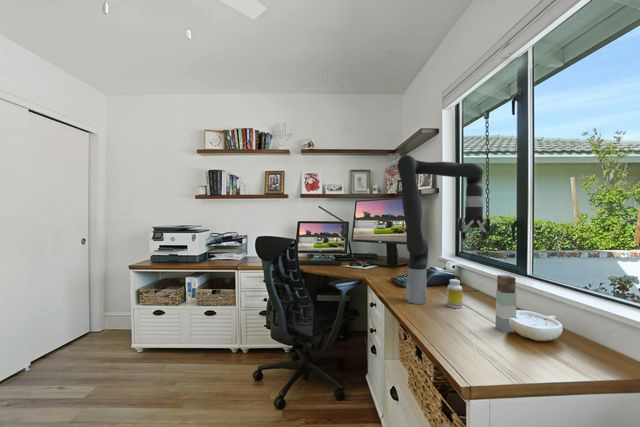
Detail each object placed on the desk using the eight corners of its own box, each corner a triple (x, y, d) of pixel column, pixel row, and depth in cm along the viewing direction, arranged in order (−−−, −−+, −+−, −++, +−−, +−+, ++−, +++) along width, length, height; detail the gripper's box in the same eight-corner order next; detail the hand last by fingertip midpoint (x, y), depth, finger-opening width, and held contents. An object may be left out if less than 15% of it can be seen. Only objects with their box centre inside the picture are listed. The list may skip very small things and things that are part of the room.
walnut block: (502, 292, 113) (503, 277, 113) (497, 289, 117) (497, 274, 117) (515, 293, 112) (515, 277, 112) (508, 290, 117) (509, 275, 117)
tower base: (502, 331, 112) (502, 318, 112) (495, 326, 117) (495, 314, 117) (515, 332, 112) (515, 319, 112) (508, 327, 117) (508, 315, 117)
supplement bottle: (463, 309, 139) (464, 282, 138) (448, 308, 140) (449, 281, 140) (459, 304, 145) (460, 279, 145) (445, 303, 146) (446, 278, 146)
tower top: (502, 305, 112) (502, 293, 112) (496, 302, 117) (496, 289, 117) (516, 306, 112) (516, 293, 112) (509, 302, 117) (509, 290, 117)
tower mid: (502, 318, 112) (502, 305, 112) (495, 314, 117) (496, 302, 117) (516, 319, 112) (516, 306, 112) (508, 315, 117) (509, 302, 117)
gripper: (486, 206, 141) (485, 239, 142) (455, 206, 143) (454, 239, 143) (493, 206, 134) (492, 241, 134) (461, 205, 136) (460, 240, 136)
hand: (473, 240), depth 139 cm, fingers open, 8 cm apart
